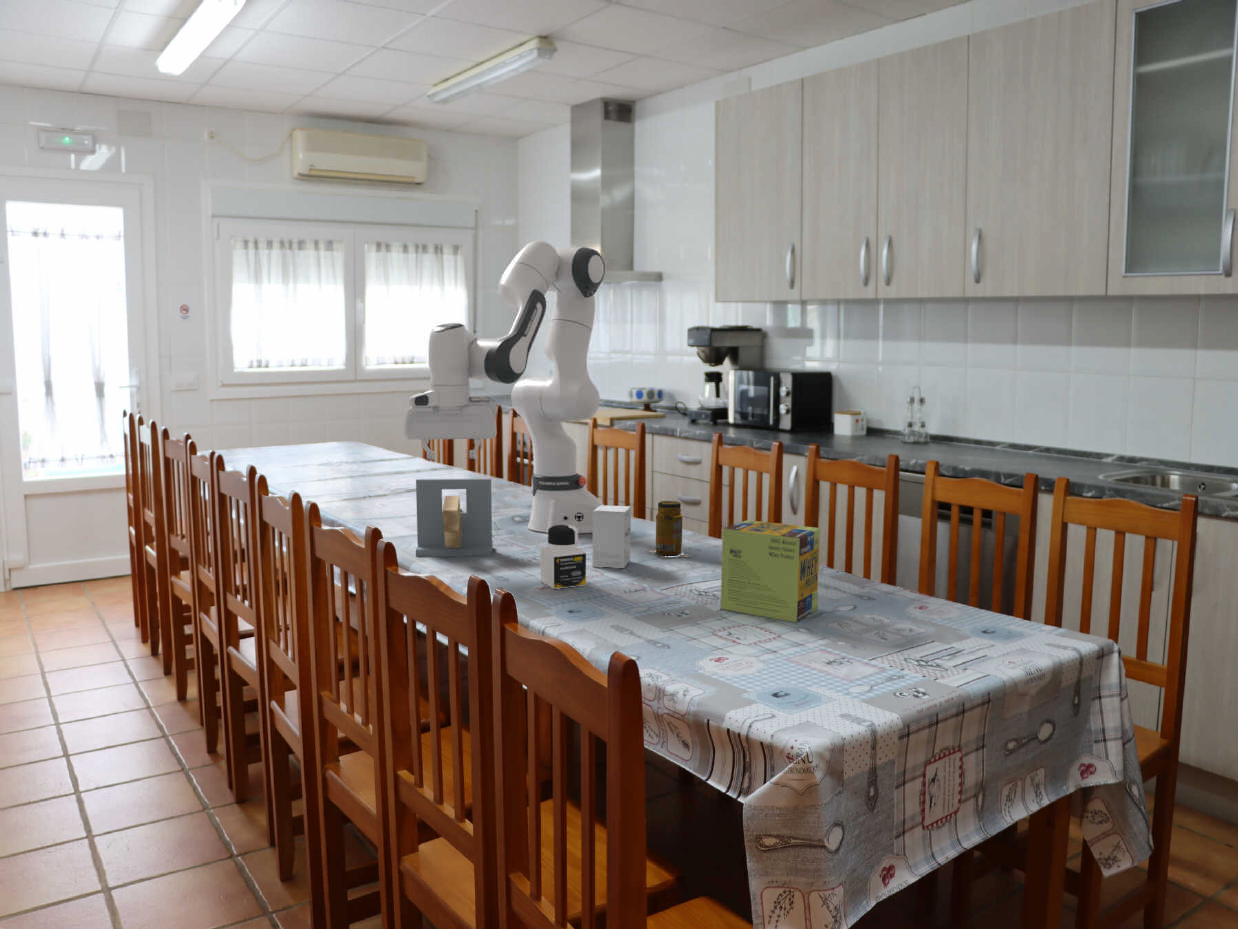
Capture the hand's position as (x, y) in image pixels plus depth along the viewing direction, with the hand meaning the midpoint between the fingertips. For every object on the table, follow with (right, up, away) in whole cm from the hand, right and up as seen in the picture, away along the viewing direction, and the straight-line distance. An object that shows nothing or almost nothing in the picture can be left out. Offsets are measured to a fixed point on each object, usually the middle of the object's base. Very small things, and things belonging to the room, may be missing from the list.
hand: (451, 458), depth 219 cm
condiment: (+49, -22, +6) cm, 54 cm away
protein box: (+66, -29, -37) cm, 81 cm away
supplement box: (+36, -24, -4) cm, 43 cm away
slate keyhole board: (-1, -22, +7) cm, 23 cm away
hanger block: (0, -18, +5) cm, 18 cm away
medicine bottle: (+26, -26, -20) cm, 42 cm away
